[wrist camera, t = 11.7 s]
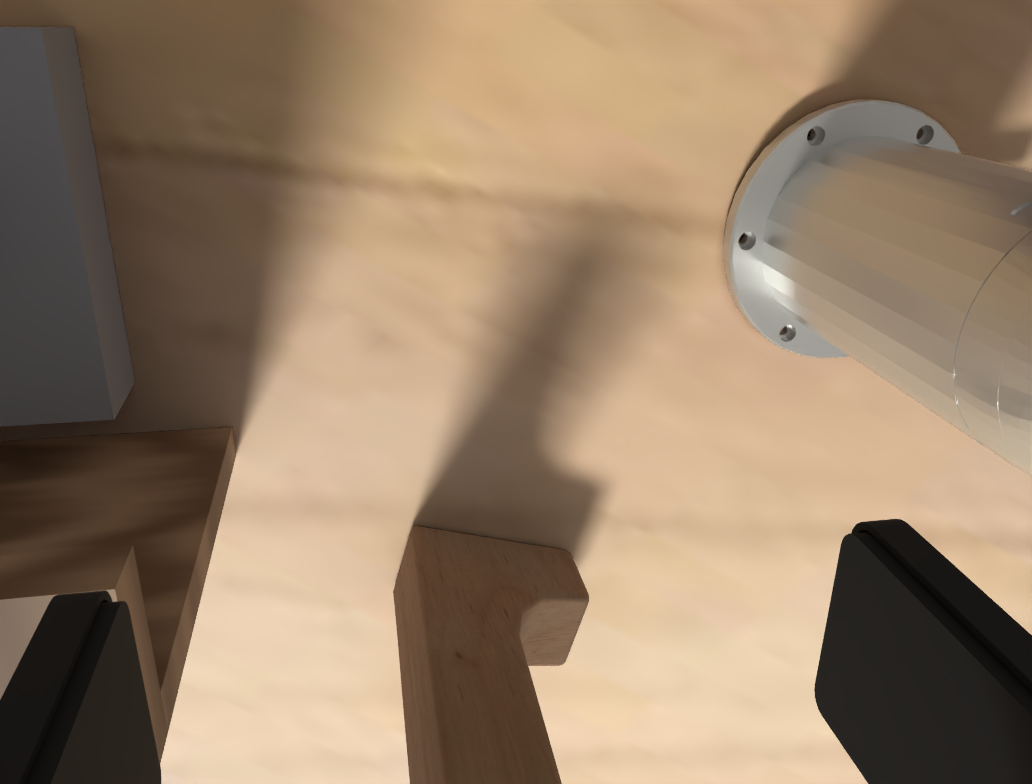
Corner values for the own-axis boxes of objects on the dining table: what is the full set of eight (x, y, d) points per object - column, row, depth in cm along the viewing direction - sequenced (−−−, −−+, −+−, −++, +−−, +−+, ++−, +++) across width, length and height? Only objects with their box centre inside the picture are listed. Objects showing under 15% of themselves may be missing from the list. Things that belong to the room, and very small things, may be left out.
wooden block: (571, 548, 48) (689, 822, 31) (547, 615, 49) (648, 910, 33) (412, 521, 45) (450, 804, 29) (391, 593, 47) (416, 900, 30)
